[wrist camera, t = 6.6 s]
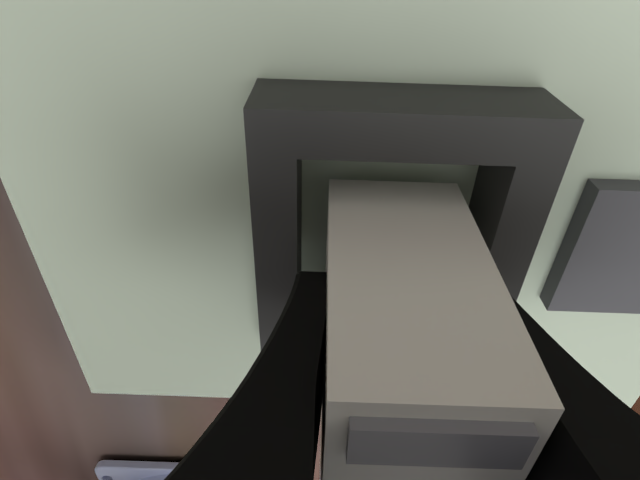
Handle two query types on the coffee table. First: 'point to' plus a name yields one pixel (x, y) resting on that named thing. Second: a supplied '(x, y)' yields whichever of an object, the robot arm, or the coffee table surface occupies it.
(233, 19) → the board
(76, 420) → the coffee table surface
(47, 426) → the coffee table surface
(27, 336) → the coffee table surface
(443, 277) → the plug
